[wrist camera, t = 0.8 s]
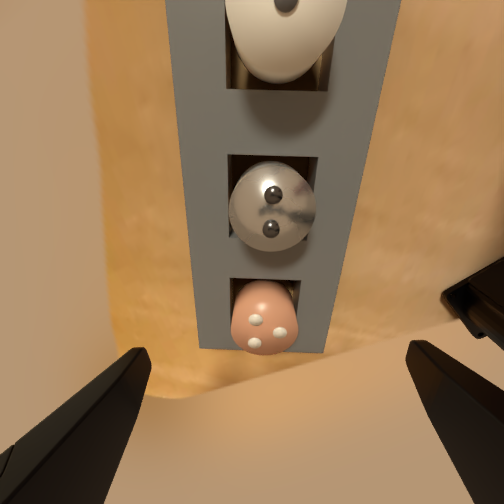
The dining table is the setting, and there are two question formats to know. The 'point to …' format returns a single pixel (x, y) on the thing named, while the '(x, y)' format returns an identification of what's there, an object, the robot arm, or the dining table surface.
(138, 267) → the dining table surface
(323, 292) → the grey flat block
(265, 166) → the button two
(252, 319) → the button three
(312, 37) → the button one
